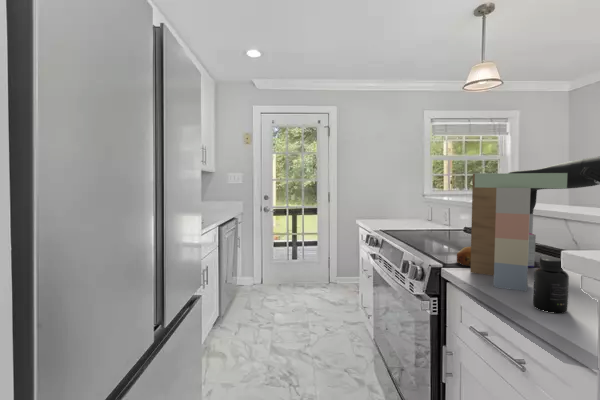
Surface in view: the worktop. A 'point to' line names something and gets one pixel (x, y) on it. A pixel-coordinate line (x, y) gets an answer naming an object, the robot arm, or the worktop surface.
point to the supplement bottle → (551, 286)
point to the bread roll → (464, 256)
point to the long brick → (521, 180)
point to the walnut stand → (483, 230)
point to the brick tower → (512, 238)
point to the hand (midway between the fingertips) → (583, 170)
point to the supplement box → (531, 250)
